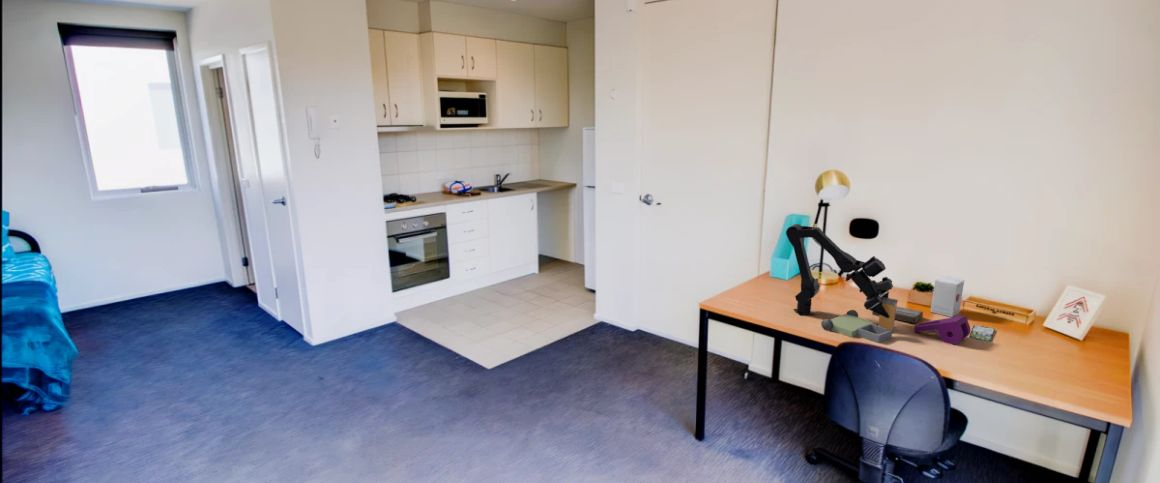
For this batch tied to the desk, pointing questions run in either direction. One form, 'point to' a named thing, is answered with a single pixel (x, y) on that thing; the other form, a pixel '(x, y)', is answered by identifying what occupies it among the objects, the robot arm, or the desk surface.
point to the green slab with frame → (856, 327)
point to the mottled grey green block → (982, 333)
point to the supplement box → (947, 296)
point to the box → (906, 314)
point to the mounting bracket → (947, 328)
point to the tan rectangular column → (891, 310)
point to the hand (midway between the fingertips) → (890, 314)
